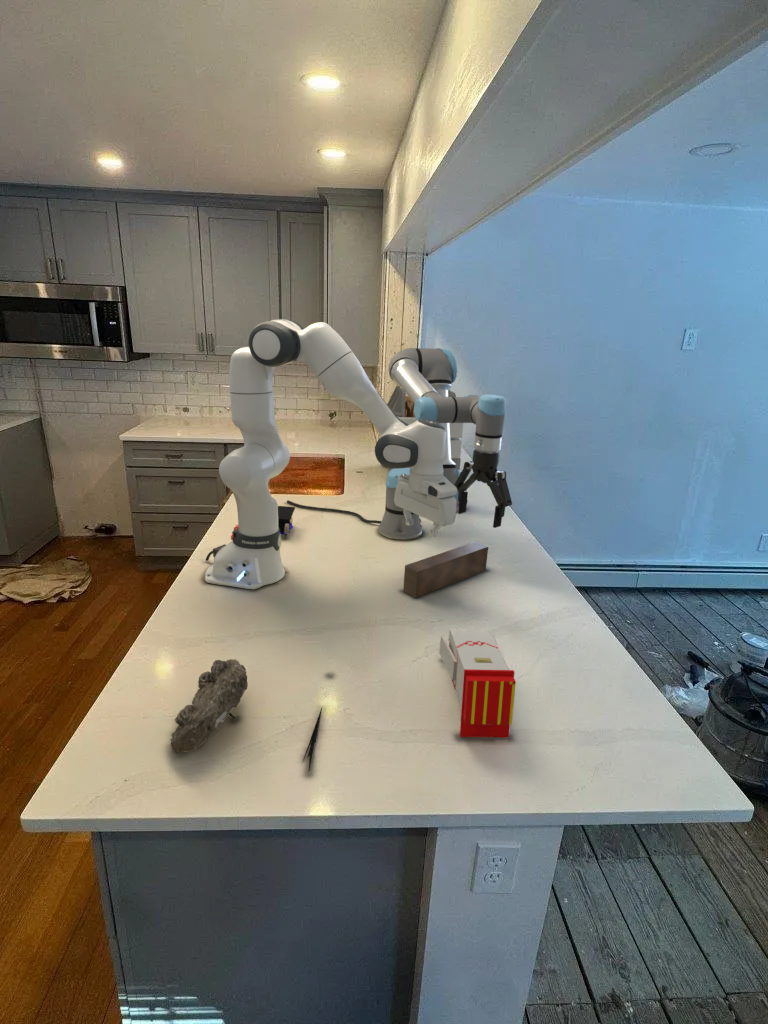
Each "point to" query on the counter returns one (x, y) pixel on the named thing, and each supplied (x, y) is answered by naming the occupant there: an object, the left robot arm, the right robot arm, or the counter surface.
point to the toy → (479, 682)
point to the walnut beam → (444, 569)
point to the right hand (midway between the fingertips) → (478, 519)
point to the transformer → (405, 412)
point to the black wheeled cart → (285, 519)
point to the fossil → (210, 704)
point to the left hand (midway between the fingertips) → (421, 530)
